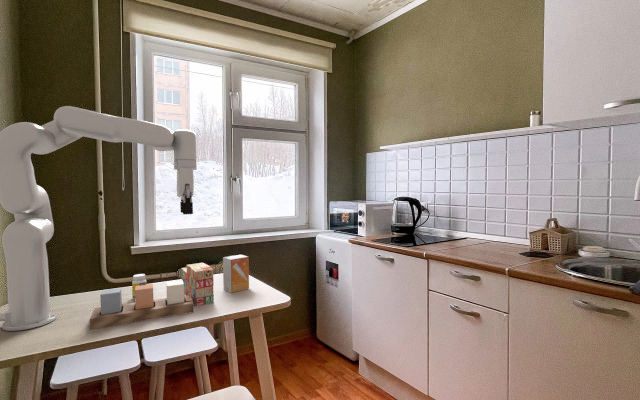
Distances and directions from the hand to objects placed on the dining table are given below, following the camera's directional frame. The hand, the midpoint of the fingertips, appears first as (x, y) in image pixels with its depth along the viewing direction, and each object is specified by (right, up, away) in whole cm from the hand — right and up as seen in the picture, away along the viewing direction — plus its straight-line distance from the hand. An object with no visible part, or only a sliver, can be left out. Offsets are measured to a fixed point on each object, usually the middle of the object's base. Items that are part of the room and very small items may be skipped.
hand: (186, 213), depth 122 cm
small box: (+15, -31, +13) cm, 36 cm away
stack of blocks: (+2, -31, +4) cm, 32 cm away
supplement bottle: (-19, -32, +4) cm, 37 cm away
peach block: (-8, -29, -14) cm, 33 cm away
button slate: (-16, -29, -18) cm, 38 cm away
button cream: (0, -29, -10) cm, 30 cm away
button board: (-8, -32, -14) cm, 35 cm away
